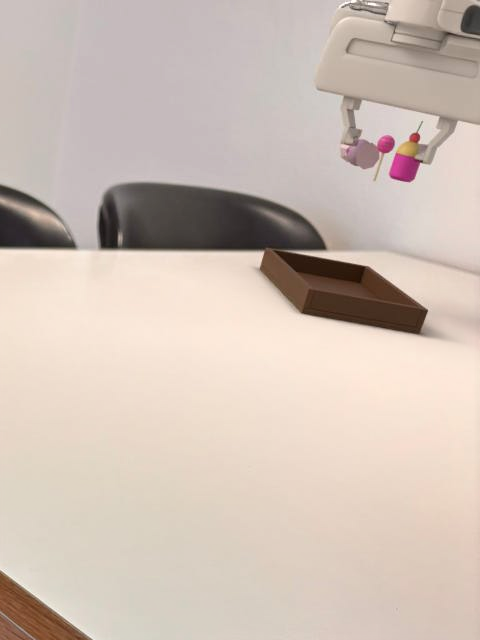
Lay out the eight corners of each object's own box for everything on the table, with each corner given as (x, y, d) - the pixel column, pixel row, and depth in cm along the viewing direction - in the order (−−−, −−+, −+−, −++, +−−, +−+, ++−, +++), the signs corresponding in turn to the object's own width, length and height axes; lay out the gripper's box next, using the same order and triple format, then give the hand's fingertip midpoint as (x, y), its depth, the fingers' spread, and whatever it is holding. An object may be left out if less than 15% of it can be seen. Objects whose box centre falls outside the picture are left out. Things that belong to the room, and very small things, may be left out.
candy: (317, 156, 126) (334, 100, 123) (381, 168, 127) (399, 113, 124) (368, 180, 111) (389, 117, 108) (440, 194, 112) (463, 131, 109)
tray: (361, 287, 134) (369, 266, 133) (419, 334, 116) (428, 310, 115) (259, 268, 133) (265, 247, 132) (301, 312, 115) (309, 288, 114)
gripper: (328, -9, 113) (288, 133, 120) (522, 23, 104) (466, 175, 111) (350, -2, 118) (310, 134, 125) (537, 30, 108) (482, 175, 115)
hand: (385, 154), depth 118 cm, fingers closed on candy, 7 cm apart
